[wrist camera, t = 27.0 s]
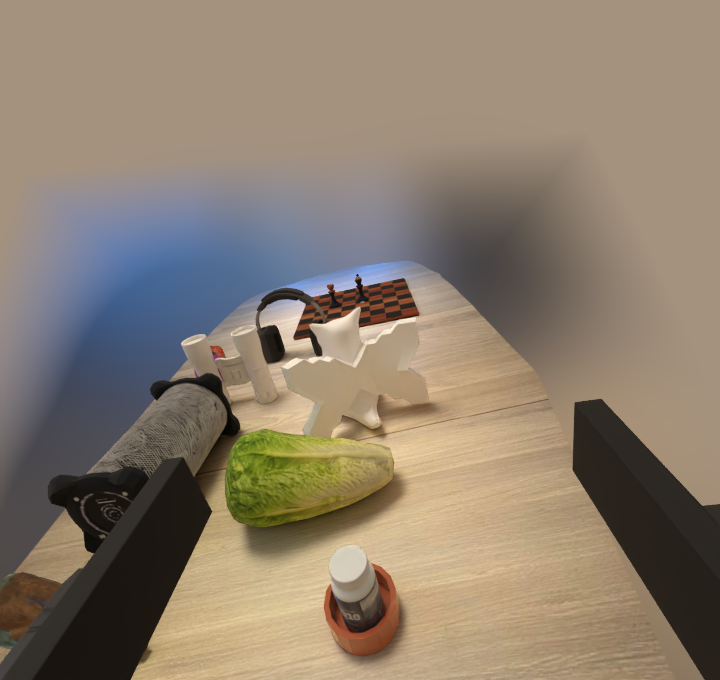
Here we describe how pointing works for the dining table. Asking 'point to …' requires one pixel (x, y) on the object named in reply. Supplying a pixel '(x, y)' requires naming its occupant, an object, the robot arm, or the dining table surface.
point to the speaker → (146, 453)
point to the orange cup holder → (373, 637)
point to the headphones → (270, 334)
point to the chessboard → (361, 304)
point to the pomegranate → (217, 351)
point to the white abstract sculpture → (356, 373)
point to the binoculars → (234, 363)
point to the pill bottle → (356, 588)
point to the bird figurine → (22, 604)
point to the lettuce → (300, 476)
